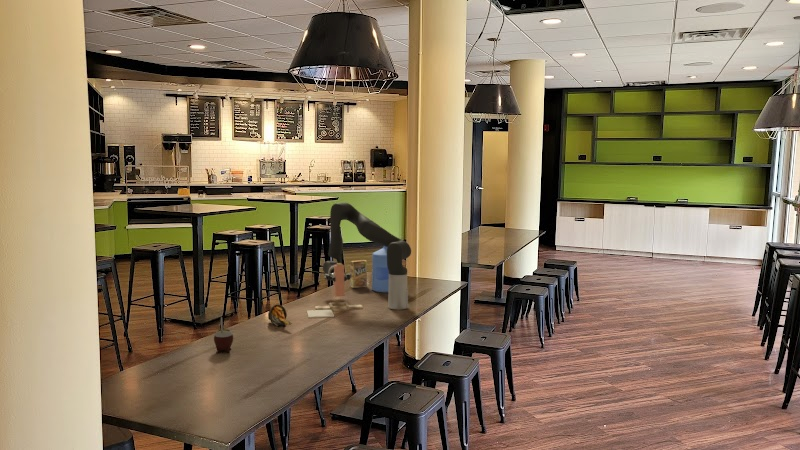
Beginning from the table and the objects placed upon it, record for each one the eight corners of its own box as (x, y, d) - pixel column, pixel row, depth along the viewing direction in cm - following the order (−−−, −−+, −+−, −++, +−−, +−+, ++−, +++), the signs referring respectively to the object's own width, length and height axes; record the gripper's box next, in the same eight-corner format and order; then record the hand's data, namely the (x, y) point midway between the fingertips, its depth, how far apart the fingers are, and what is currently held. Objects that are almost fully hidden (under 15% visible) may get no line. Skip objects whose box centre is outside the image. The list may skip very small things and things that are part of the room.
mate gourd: (226, 347, 246) (225, 309, 244) (238, 351, 241) (237, 313, 239) (209, 351, 240) (208, 313, 238) (221, 356, 235) (221, 317, 233)
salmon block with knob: (343, 294, 312) (343, 262, 310) (344, 296, 307) (344, 263, 306) (334, 294, 311) (334, 262, 309) (335, 296, 307) (335, 264, 305)
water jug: (367, 288, 358) (368, 239, 355) (392, 286, 365) (393, 238, 362) (378, 293, 344) (378, 243, 341) (404, 291, 351) (404, 241, 348)
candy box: (353, 288, 357) (353, 261, 356) (350, 286, 361) (350, 260, 359) (367, 287, 362) (367, 260, 360) (364, 285, 365) (364, 259, 364)
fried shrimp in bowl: (280, 308, 289) (304, 302, 277) (277, 332, 285) (301, 327, 273) (263, 304, 283) (287, 297, 271) (260, 328, 279) (283, 322, 267)
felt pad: (331, 310, 305) (331, 309, 305) (334, 316, 294) (334, 315, 294) (306, 311, 303) (306, 310, 303) (308, 318, 291) (308, 316, 291)
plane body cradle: (360, 305, 317) (360, 301, 317) (363, 309, 308) (363, 305, 308) (314, 307, 312) (314, 303, 312) (316, 311, 303) (316, 307, 303)
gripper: (322, 266, 320) (325, 272, 304) (349, 265, 323) (354, 271, 307) (322, 281, 321) (325, 287, 305) (350, 279, 324) (354, 286, 307)
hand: (339, 279), depth 306 cm, fingers closed on salmon block with knob, 4 cm apart
